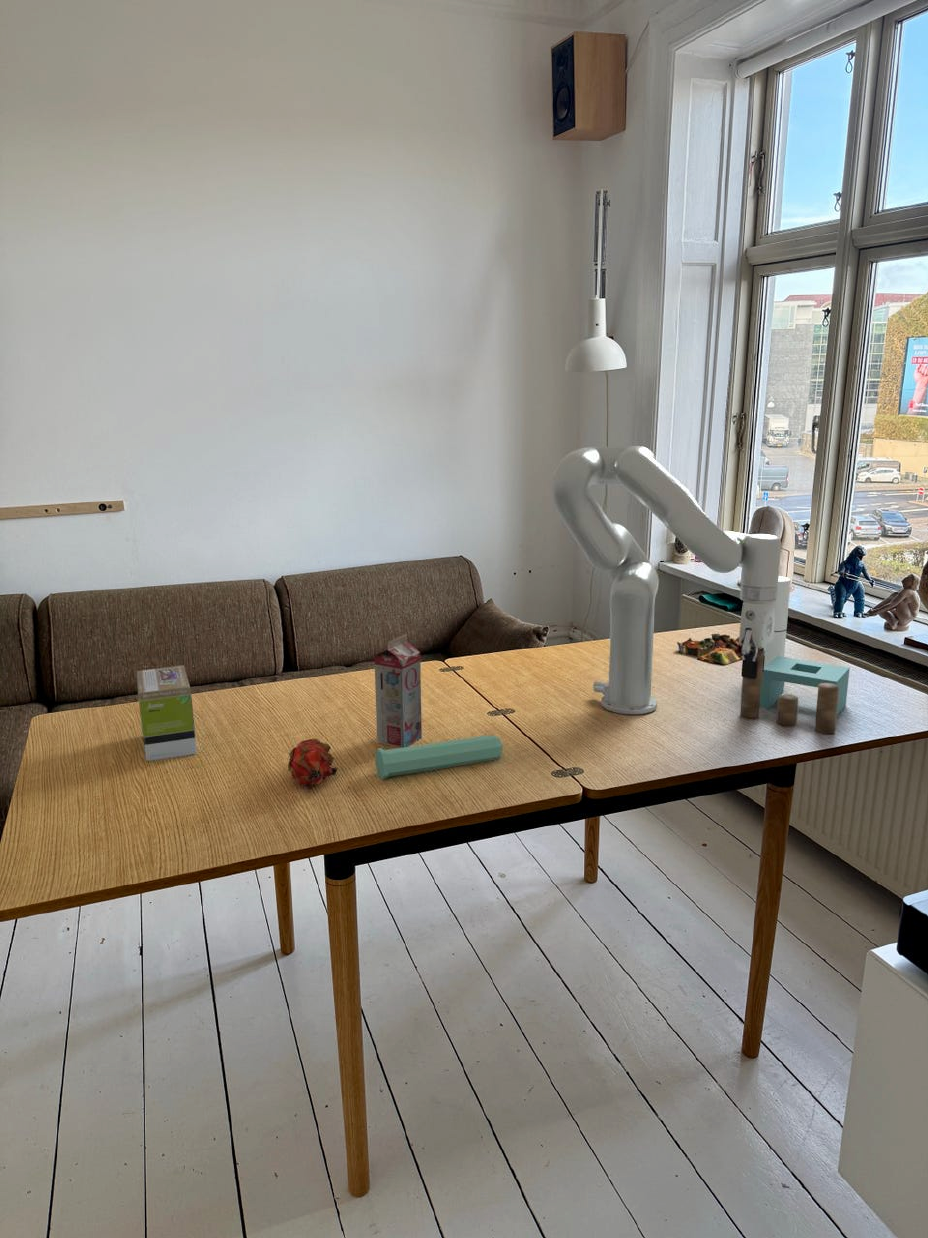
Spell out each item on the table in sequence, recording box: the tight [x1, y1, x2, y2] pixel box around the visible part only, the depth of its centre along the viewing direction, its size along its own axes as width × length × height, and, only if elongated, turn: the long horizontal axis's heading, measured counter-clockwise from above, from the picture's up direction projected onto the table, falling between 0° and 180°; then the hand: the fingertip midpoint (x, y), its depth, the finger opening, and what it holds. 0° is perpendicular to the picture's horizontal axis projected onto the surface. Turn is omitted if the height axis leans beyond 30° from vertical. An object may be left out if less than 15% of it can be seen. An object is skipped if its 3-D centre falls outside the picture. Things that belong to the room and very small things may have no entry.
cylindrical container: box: [764, 575, 792, 667], centre depth 228 cm, size 7×7×25 cm
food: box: [676, 633, 751, 666], centre depth 252 cm, size 22×19×4 cm
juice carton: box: [373, 633, 423, 748], centre depth 189 cm, size 7×7×22 cm
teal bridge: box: [760, 656, 851, 718], centre depth 209 cm, size 16×12×9 cm
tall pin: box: [739, 649, 764, 721], centre depth 202 cm, size 4×4×15 cm
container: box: [374, 734, 503, 780], centre depth 179 cm, size 6×6×25 cm
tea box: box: [136, 664, 198, 762], centre depth 189 cm, size 15×10×15 cm
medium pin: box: [814, 683, 839, 736], centre depth 194 cm, size 4×4×10 cm
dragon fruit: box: [287, 738, 339, 790], centre depth 172 cm, size 8×8×12 cm
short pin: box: [775, 693, 799, 728], centre depth 199 cm, size 4×4×6 cm
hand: (752, 674), depth 202 cm, fingers closed on tall pin, 4 cm apart
